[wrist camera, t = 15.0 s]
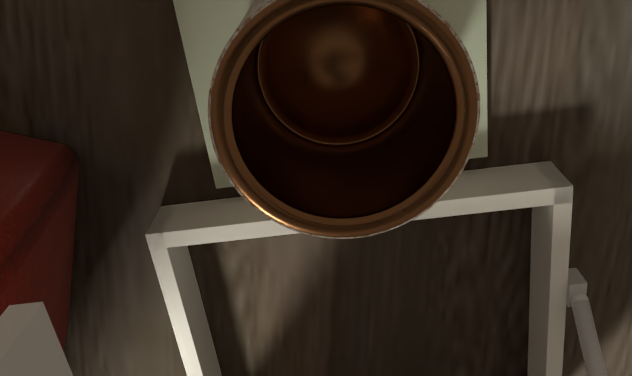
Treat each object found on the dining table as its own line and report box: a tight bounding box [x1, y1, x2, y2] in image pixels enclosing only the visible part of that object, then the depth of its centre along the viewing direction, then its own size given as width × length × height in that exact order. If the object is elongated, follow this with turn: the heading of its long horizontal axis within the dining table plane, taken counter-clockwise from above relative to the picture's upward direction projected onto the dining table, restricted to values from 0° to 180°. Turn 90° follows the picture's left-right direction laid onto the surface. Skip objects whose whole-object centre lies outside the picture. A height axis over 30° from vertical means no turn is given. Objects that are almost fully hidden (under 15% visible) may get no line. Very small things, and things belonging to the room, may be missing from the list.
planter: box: [208, 0, 480, 239], centre depth 27 cm, size 11×11×10 cm
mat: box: [173, 0, 488, 189], centre depth 32 cm, size 16×13×1 cm
